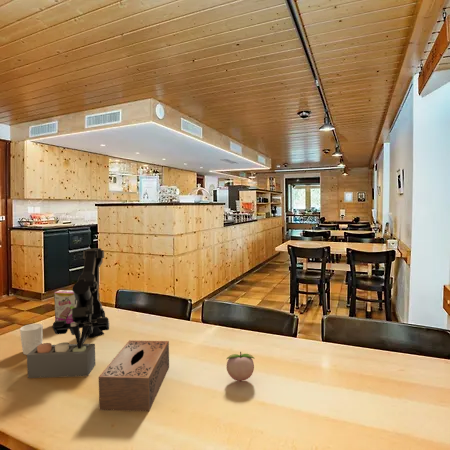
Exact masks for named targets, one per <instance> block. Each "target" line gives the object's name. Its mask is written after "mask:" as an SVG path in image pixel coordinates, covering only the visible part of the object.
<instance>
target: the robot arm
mask: <svg viewBox="0 0 450 450" xmlns="http://www.w3.org/2000/svg"><path fill="white" fill-rule="evenodd" d="M104 258H105V251H104V249H103V250H102V248H100V247H99V248H87V249H86V250H83V259H84V263H83V270H82V273H81V274H80V275H79V276H78V279H77V282H75V283H74V284H73V286H72V287H71V288H72V291H73V293H74V296H75V299H76V300H77V304H76V308H72V318H73V319H72V320H73V321H74V322H72V323H69V324H67V323H66V320H60V321H55V320H54V322H53V323H52V330H53V332H54V334H55V335H65V334H67V333H68V331H70V334H71V335H72V336H75V340H76V344H77V346H78V349H81V347H82V345H83V344H85V342H86V340H87V339H88V338H89V339H92V338H96V337H99V336H104V335H105V332H104V331H109V330H110V319H109V317H108V316H106V312H105V310H104V308H103V304H102V302H101V301H100V300H99V286H100V284H99V283H100V280H99V279H100V267H101V265H102V263H103V262H104V261H103V260H104ZM80 329H81V330H80Z"/></svg>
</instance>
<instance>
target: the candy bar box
mask: <svg viewBox="0 0 450 450" xmlns="http://www.w3.org/2000/svg"><path fill="white" fill-rule="evenodd" d="M53 295H54V298H53V299H54V318H55V319H54V322H55V321H60V320H66V323H67V324H69V323H72V322H74V321H73V320H72V319H73V318H72V308H76V304H77V300H76V299H75V296H74V293H73V290H71V289H70V290H68V289H67V290H65V289H60V290H57V291H54V294H53Z"/></svg>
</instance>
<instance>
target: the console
mask: <svg viewBox="0 0 450 450" xmlns="http://www.w3.org/2000/svg"><path fill="white" fill-rule="evenodd" d="M51 345H52V350H51V351H50V352H49V353H37V347H36V348H35V349H33V350H32V351H31V352H30V353H29V354H27V355H26V366H27V367H26V368H27V379H37V378H66V377H67V378H69V377H73V378H74V377H88V376H89V375H90V374H91V373H92V371H93V369H94V368H95V366H96V343H84V344H83V345H82V346H86V350H85V351H84V352H73V348H75V347H78V346H77V343H72V344H71V343H69V350H68V351H67V352H55V345H56V344H51Z"/></svg>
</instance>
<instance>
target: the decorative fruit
mask: <svg viewBox="0 0 450 450" xmlns="http://www.w3.org/2000/svg"><path fill="white" fill-rule="evenodd" d="M254 360H255V357H254V356H253V355H251V354H250V353H242V351H240V354H237V353H233V354H229V355H228V356H227V357H226V371H227V373H228V375H229V377H231V379H232V380H235V381H237V382H242V381H245V380H248V379H250V378H251V376H253V374H254V370H255V363H254Z"/></svg>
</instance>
